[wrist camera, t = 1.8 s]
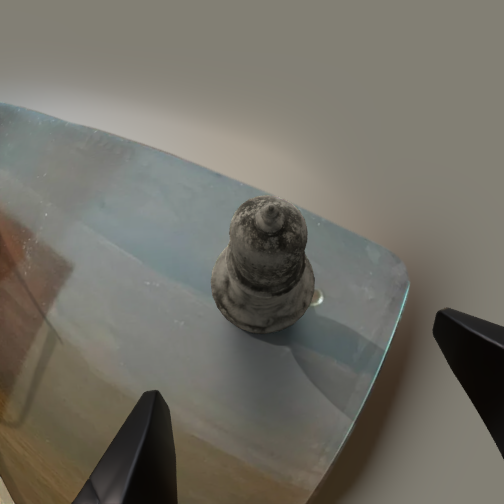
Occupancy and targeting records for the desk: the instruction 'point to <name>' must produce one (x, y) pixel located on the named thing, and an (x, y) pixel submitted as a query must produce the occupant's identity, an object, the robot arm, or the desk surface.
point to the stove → (4, 494)
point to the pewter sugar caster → (264, 267)
